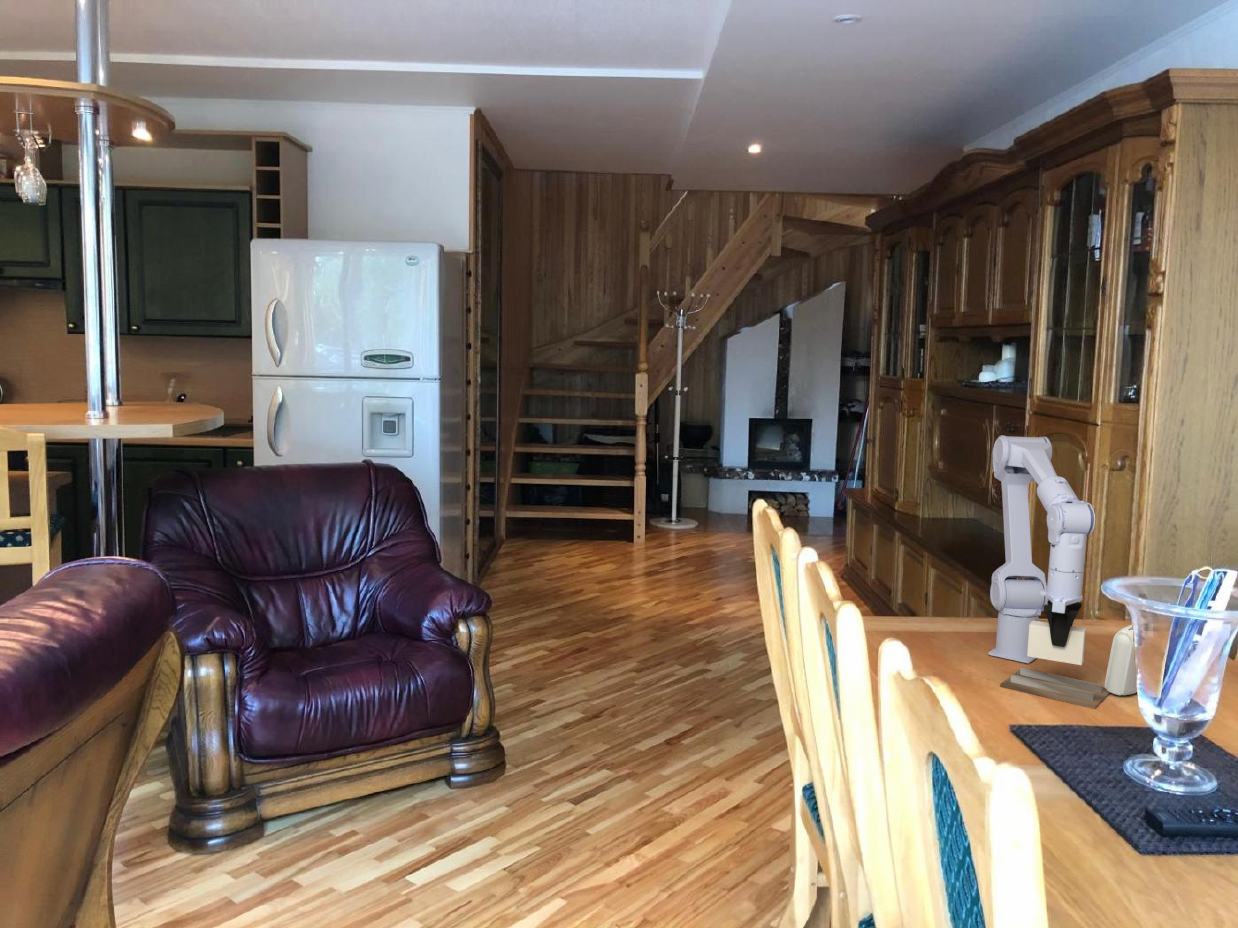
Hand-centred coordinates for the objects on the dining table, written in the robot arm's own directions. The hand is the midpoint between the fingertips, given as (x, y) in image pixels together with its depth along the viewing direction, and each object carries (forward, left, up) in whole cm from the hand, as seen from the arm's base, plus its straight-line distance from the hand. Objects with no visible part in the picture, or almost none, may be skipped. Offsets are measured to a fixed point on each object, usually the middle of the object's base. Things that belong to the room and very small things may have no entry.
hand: (1059, 643), depth 176 cm
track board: (0, 0, -8) cm, 8 cm away
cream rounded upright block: (-8, +10, -8) cm, 15 cm away
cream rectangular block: (0, -1, -3) cm, 3 cm away
